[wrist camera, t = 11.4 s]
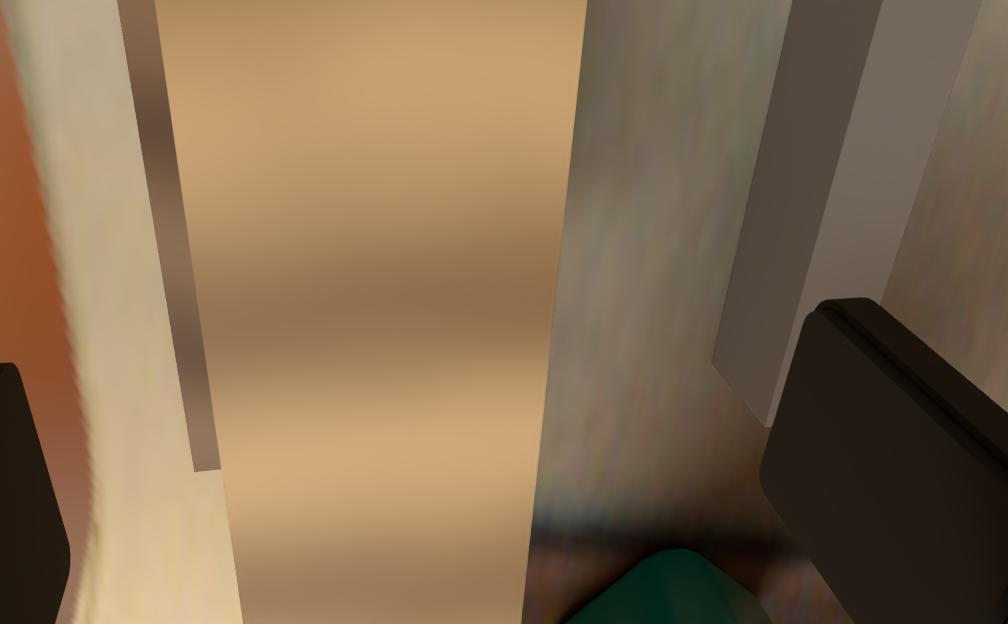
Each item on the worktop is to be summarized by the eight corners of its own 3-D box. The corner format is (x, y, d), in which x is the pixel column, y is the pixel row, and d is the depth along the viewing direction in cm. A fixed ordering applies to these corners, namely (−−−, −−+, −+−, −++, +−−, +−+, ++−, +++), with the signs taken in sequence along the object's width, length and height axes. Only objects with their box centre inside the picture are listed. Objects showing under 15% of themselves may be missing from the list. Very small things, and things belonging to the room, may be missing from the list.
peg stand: (63, -446, 16) (-86, -638, 10) (544, -379, 19) (697, -495, 12) (199, 432, 27) (174, 629, 20) (492, 404, 29) (555, 574, 23)
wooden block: (104, -604, 10) (47, -749, 8) (570, -520, 11) (653, -617, 9) (259, 617, 21) (258, 724, 18) (487, 583, 22) (514, 679, 20)
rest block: (857, -285, 21) (967, -306, 18) (955, -273, 22) (1078, -291, 18) (711, 363, 31) (764, 427, 28) (782, 357, 32) (841, 419, 28)
